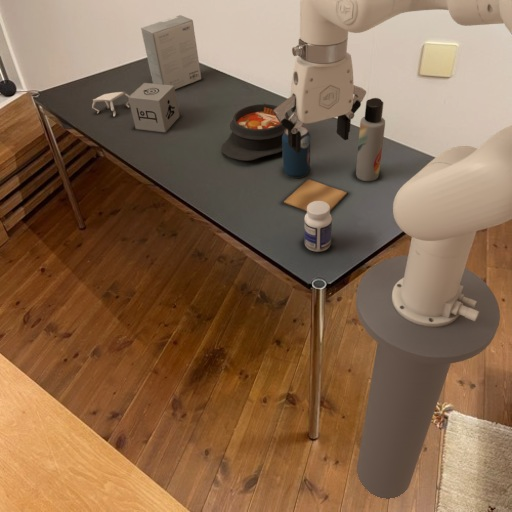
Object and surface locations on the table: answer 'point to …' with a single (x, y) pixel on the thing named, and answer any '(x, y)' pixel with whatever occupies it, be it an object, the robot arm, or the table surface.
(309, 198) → the cork mat
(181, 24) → the hard drive box
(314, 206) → the pill bottle
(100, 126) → the table surface
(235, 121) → the casserole
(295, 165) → the soda can
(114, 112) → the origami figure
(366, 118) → the lotion bottle
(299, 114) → the robot arm
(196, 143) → the table surface
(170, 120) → the icon cube
